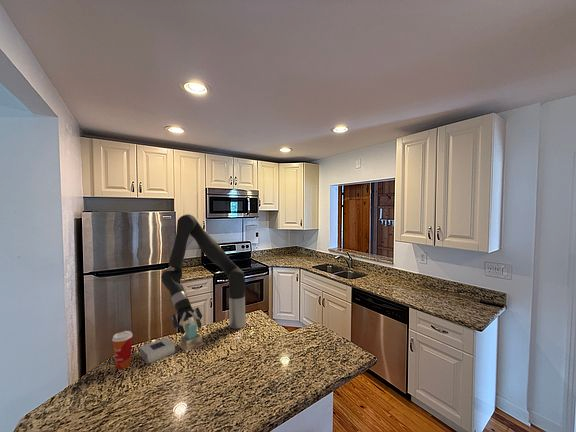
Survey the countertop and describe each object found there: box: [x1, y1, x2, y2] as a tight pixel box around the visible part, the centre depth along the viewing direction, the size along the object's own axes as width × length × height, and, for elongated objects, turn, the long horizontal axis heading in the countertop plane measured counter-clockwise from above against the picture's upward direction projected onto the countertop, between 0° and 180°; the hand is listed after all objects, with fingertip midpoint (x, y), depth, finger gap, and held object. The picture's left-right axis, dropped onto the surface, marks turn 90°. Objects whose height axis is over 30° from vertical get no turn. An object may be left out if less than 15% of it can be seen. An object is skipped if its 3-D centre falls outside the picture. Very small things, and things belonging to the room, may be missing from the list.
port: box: [139, 337, 176, 367], centre depth 121 cm, size 12×10×5 cm
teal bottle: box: [184, 316, 198, 341], centre depth 129 cm, size 4×4×13 cm
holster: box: [177, 333, 206, 352], centre depth 129 cm, size 10×10×4 cm
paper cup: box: [111, 330, 134, 370], centre depth 113 cm, size 8×8×14 cm
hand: (192, 330), depth 128 cm, fingers open, 8 cm apart
